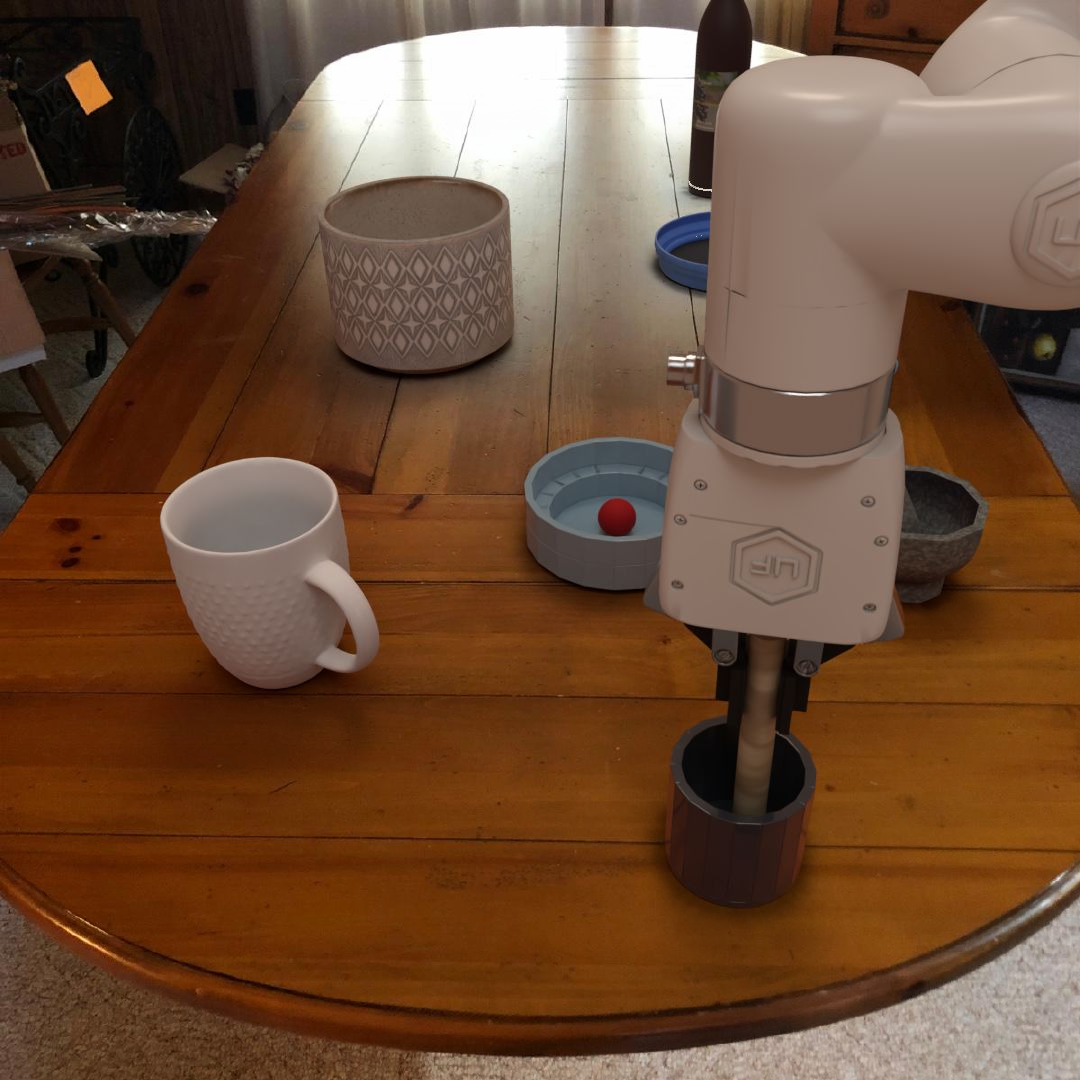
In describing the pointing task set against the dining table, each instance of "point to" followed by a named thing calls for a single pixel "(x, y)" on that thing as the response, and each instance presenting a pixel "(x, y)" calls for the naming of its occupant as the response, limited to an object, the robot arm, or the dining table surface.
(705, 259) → the bowl
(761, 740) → the stick
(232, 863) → the dining table surface
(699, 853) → the holder
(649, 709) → the dining table surface
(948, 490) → the mortar and pestle
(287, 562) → the mug
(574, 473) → the mixing bowl
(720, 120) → the robot arm
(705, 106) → the wine bottle
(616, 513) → the berry
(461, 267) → the planter
